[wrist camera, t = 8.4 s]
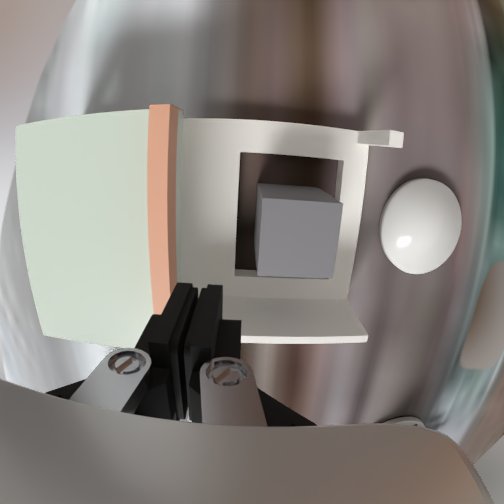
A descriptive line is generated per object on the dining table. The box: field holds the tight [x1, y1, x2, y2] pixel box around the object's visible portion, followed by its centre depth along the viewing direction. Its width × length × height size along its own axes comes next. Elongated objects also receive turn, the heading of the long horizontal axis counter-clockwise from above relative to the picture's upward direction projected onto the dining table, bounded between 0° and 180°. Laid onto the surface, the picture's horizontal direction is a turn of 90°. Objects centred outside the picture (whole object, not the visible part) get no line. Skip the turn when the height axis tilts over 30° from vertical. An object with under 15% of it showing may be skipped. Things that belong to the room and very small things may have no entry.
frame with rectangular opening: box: [181, 118, 404, 344], centre depth 23 cm, size 24×15×7 cm, turn 87°
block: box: [254, 183, 343, 278], centre depth 23 cm, size 5×5×7 cm
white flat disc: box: [379, 178, 462, 274], centre depth 26 cm, size 9×9×1 cm
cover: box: [16, 104, 183, 348], centre depth 17 cm, size 11×15×3 cm
